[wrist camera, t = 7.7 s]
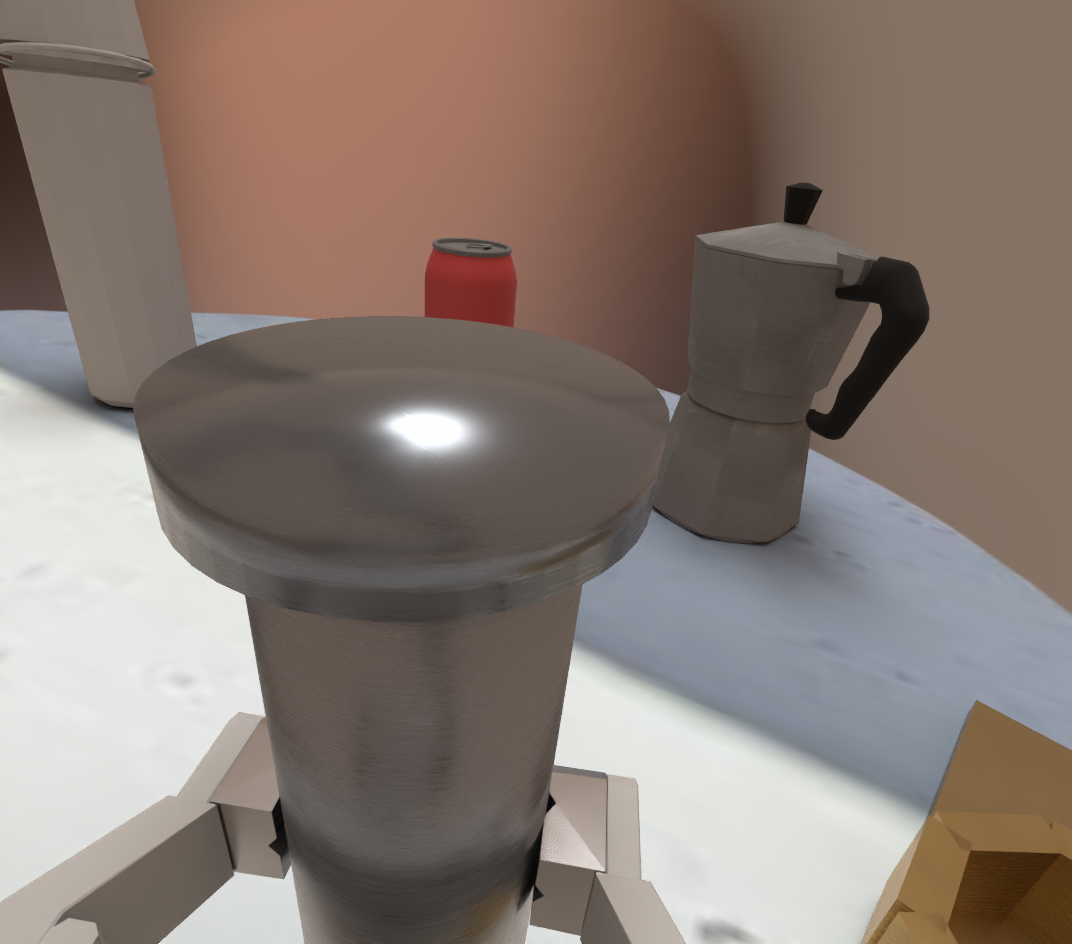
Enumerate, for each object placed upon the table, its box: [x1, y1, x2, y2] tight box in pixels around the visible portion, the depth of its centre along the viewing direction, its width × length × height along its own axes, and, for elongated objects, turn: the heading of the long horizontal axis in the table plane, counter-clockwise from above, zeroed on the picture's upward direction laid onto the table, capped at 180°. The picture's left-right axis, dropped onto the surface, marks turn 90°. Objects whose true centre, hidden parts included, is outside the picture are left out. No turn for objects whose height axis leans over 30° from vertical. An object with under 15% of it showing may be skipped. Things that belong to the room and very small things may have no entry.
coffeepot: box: [653, 183, 929, 544], centre depth 32 cm, size 15×9×18 cm, turn 18°
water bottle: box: [0, 0, 197, 408], centre depth 39 cm, size 9×8×25 cm
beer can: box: [425, 238, 517, 328], centre depth 45 cm, size 7×7×12 cm
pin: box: [133, 316, 670, 944], centre depth 10 cm, size 5×5×16 cm
